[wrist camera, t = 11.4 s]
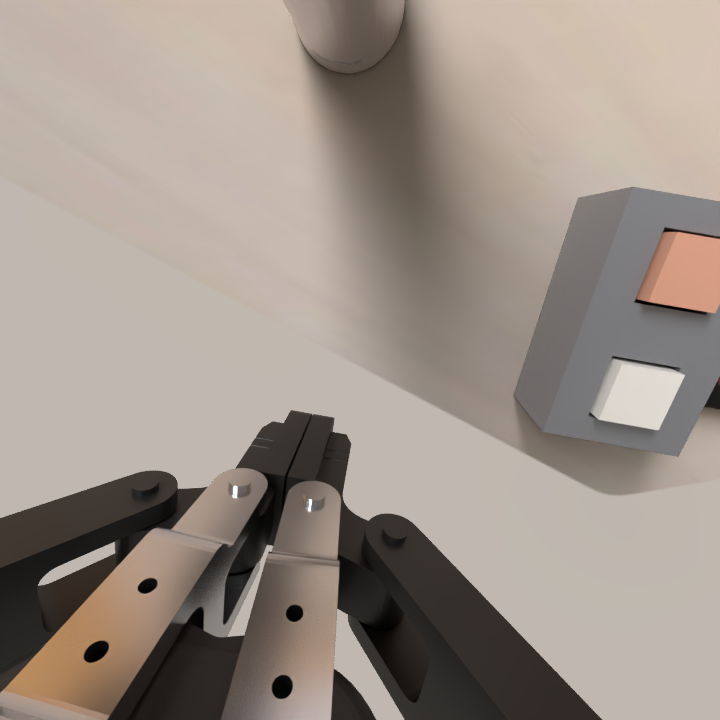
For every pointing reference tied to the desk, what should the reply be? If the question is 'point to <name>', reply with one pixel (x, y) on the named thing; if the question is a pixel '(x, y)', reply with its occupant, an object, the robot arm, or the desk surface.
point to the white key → (636, 393)
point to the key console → (619, 320)
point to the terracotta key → (684, 273)
